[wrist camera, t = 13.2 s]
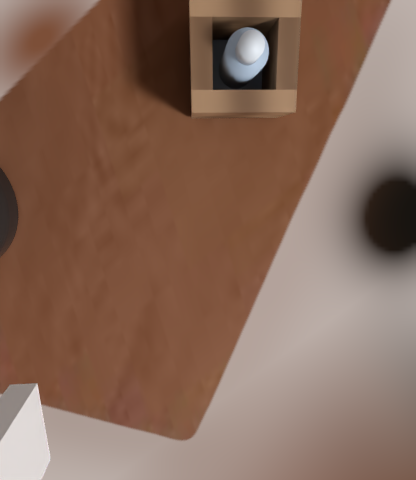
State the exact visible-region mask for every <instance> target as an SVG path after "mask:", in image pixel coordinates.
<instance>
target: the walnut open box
mask: <svg viewBox="0 0 416 480" xmlns="http://www.w3.org/2000/svg"><path fill="white" fill-rule="evenodd" d="M301 8H302V0H189V39H190V84H191V118H279V117H282V116H285V115H288V114H291V113H294V112H296V97H297V79H298V61H299V43H300V26H301ZM246 27H250V28H254V29H257V30H258V31H260V32H261V33H262V34H263V35H264V37H265V38H266V40H267V43H268V47H269V55H268V59H267V62H266V64H265V66H264V67H263V68H262V90H213V52H212V40H229V38H230V37H231V36H232V34H233V33H234V32H236V31H237V30H239V29H241V28H246Z"/></svg>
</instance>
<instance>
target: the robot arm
mask: <svg viewBox="0 0 416 480" xmlns="http://www.w3.org/2000/svg"><path fill="white" fill-rule="evenodd" d="M17 224H18V207H17V201H16V197H15V194H14V191H13V188H12V186H11V184H10V182H9V180H8V178H7V176H6V175H5V173H4V172H3V170H2V169H1V168H0V257H1V256H2V255H3V254H4V253H5V252H6V250H7V249H8V248H9V246H10V244H11V243H12V241H13V239H14V236H15V233H16V229H17ZM50 459H51V458H50V452H49V447H48V441H47V436H46V430H45V424H44V419H43V413H42V407H41V402H40V396H39V390H38V385H37V383H36V384H15V385H9V387H8V388H7V389H6V391H5V392H4V393H3V395H2V396H1V398H0V480H42V477H43V475H44V473H45V471H46V468H47V466H48V464H49V462H50Z"/></svg>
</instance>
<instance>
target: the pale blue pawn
mask: <svg viewBox="0 0 416 480" xmlns="http://www.w3.org/2000/svg"><path fill="white" fill-rule="evenodd" d="M212 52H213V90H262V68H263V67H264V66H265V64H266V62H267V59H268V55H269V47H268V43H267V40H266V38H265V37H264V35H263V34H262V33H261V32H260V31H258V30H257V29H254V28H250V27H246V28H241V29H239V30H237V31H236V32H234V33H233V34H232V36H231V37H230V38H229V40H212Z"/></svg>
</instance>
